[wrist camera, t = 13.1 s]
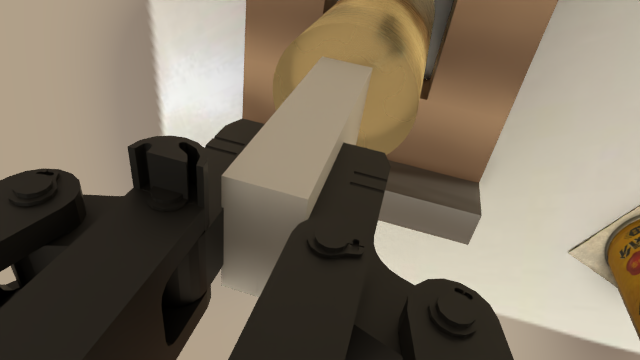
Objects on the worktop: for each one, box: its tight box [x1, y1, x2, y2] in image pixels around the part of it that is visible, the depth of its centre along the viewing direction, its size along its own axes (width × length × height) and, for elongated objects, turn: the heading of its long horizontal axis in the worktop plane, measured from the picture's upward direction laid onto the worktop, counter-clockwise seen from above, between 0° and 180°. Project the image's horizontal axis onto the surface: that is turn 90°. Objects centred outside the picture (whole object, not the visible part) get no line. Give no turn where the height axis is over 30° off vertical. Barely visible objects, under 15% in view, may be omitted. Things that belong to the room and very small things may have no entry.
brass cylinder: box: [273, 0, 435, 155], centre depth 18 cm, size 5×5×12 cm
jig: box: [243, 0, 558, 245], centre depth 21 cm, size 15×14×6 cm
